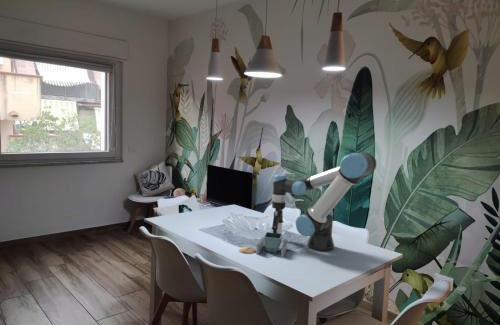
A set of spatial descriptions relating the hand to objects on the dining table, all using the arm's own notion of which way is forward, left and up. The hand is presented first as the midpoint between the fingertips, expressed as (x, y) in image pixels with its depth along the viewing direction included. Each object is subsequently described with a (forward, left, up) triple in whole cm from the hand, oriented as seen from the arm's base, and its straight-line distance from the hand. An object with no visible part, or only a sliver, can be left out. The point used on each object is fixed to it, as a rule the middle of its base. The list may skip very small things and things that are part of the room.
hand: (277, 236), depth 209 cm
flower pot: (0, +13, -4) cm, 14 cm away
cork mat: (+13, +18, -4) cm, 23 cm away
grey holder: (0, +14, -4) cm, 15 cm away
